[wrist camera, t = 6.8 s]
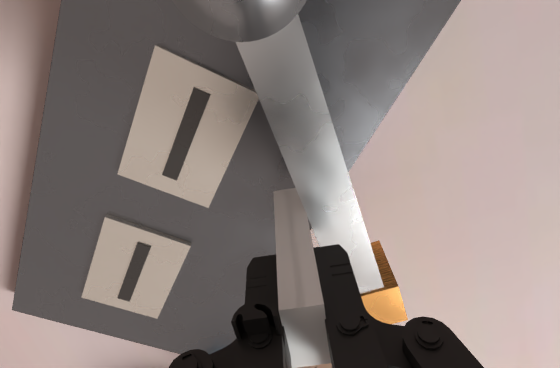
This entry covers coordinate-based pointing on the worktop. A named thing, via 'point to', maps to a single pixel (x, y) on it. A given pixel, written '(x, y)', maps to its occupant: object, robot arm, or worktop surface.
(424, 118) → the worktop surface
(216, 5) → the grey bar
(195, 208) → the plate
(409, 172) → the worktop surface
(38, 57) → the worktop surface
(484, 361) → the worktop surface
